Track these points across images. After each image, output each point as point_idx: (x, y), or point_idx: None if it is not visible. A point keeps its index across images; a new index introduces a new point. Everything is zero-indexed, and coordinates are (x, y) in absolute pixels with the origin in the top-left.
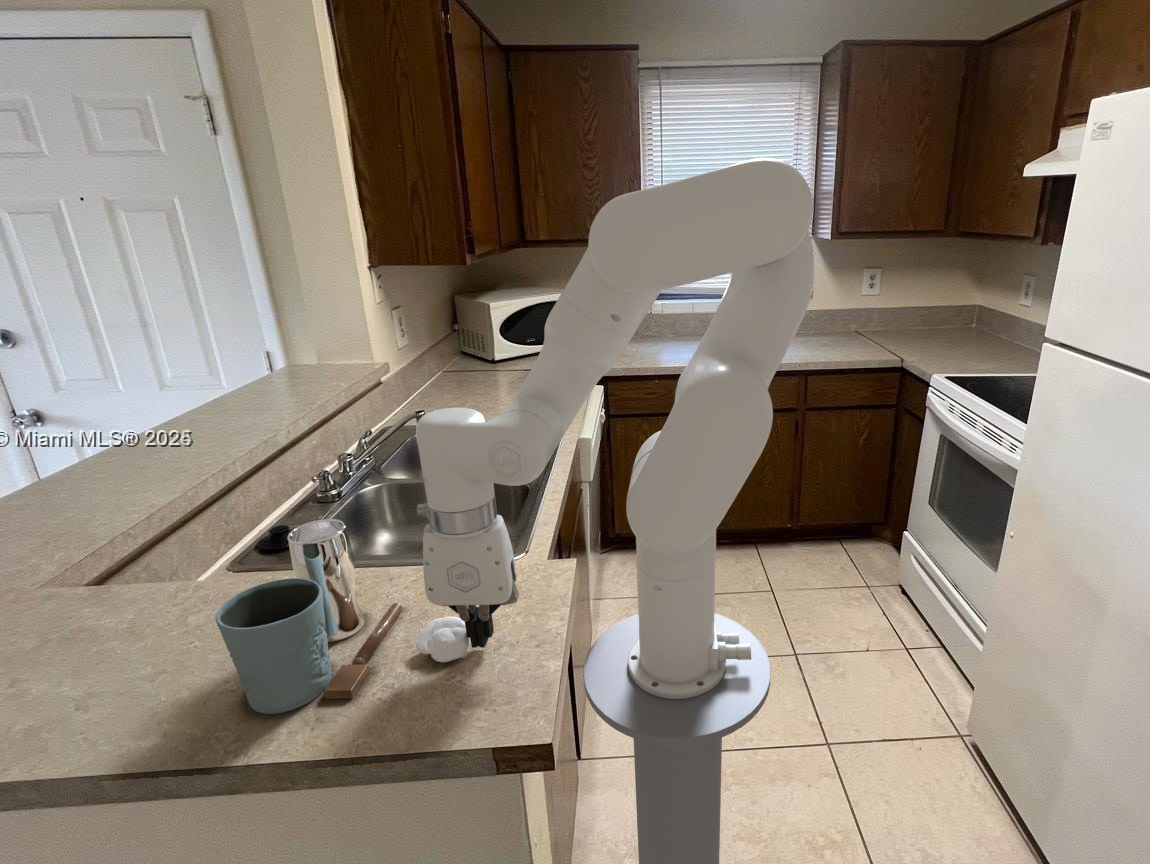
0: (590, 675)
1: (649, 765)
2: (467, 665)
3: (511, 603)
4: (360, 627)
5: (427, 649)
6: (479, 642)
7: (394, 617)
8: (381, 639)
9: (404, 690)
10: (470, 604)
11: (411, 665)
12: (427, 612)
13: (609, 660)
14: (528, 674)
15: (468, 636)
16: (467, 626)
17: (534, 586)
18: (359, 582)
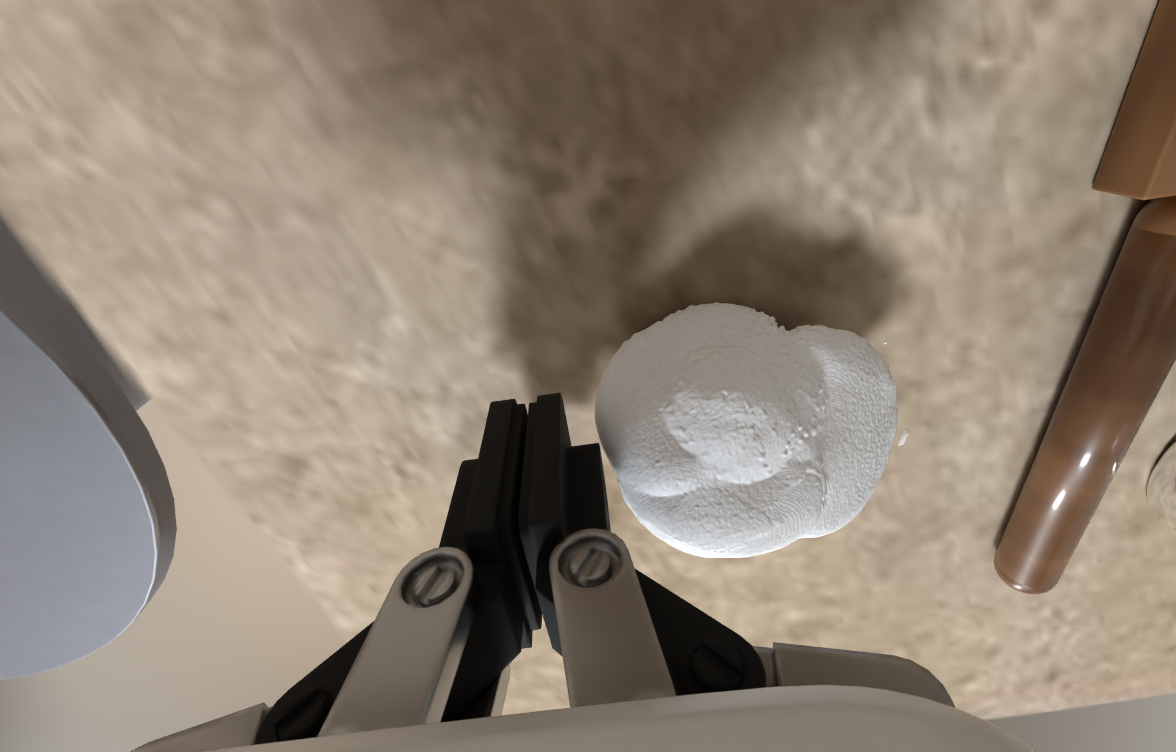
0: (11, 355)
1: None
2: (565, 305)
3: (178, 735)
4: (1166, 462)
5: (810, 344)
6: (509, 418)
7: (1027, 526)
8: (1068, 402)
9: (854, 58)
10: (407, 746)
11: (866, 268)
12: (877, 566)
13: (8, 444)
14: (196, 281)
15: (590, 447)
16: (591, 499)
17: (512, 707)
18: (1171, 651)
